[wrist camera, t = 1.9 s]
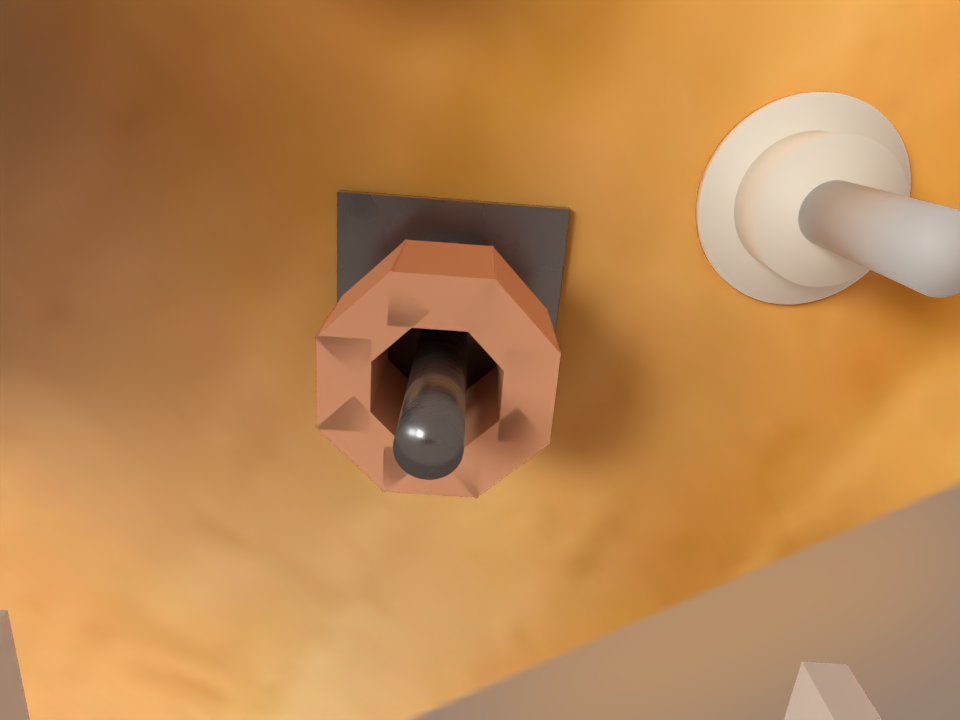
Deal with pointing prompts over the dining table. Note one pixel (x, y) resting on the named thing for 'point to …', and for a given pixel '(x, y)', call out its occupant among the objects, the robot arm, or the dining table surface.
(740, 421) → the dining table surface
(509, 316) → the collar
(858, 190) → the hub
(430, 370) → the stand
